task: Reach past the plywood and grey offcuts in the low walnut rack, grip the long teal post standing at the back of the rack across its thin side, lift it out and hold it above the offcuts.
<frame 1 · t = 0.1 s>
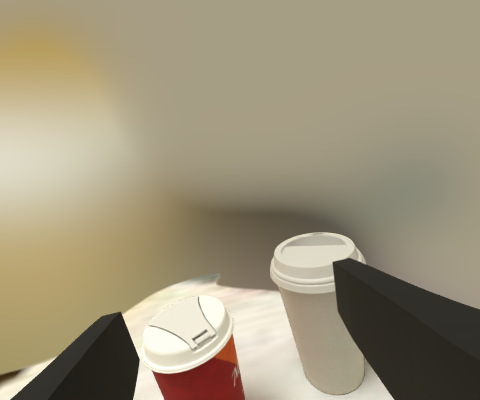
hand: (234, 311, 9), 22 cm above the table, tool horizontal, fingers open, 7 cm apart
coffee cup: (333, 369, 31), on the table
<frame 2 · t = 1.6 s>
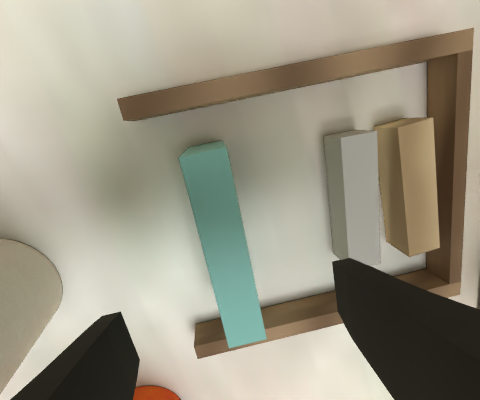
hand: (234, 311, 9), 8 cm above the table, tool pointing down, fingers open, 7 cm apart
long teal post: (223, 221, 17), resting in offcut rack
plywood offcut: (392, 183, 18), resting in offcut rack
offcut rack: (306, 203, 17), on the table
coffee cup: (9, 284, 17), on the table
grey board offcut: (341, 194, 18), resting in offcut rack
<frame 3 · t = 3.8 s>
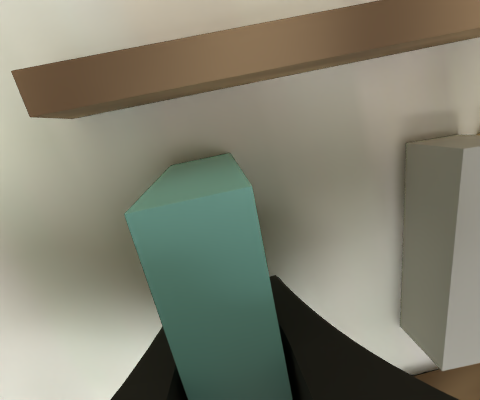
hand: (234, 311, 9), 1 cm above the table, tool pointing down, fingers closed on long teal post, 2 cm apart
long teal post: (231, 286, 10), resting in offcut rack, touching gripper
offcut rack: (367, 254, 11), on the table
grey board offcut: (421, 237, 11), resting in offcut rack
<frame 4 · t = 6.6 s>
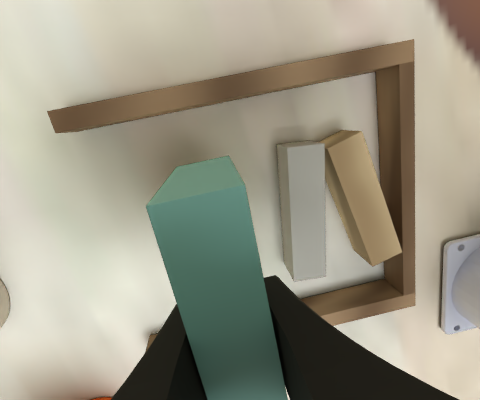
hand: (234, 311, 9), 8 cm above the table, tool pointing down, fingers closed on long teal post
long teal post: (230, 274, 12), point 6 cm above the table, touching gripper
plywood offcut: (346, 193, 18), resting in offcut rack
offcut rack: (258, 214, 17), on the table
grey board offcut: (294, 204, 17), resting in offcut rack
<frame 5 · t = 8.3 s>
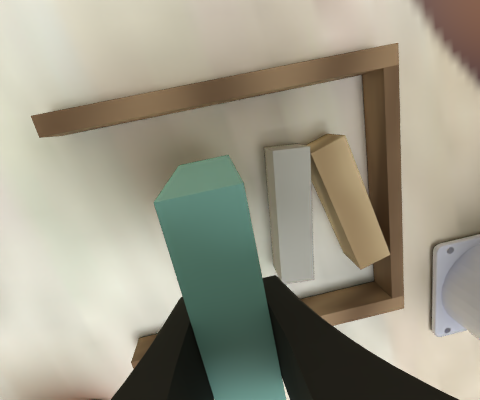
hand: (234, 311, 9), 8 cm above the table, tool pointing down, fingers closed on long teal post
long teal post: (229, 268, 12), point 5 cm above the table, touching gripper
plywood offcut: (334, 196, 18), resting in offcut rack
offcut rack: (246, 217, 17), on the table
grey board offcut: (283, 207, 17), resting in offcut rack
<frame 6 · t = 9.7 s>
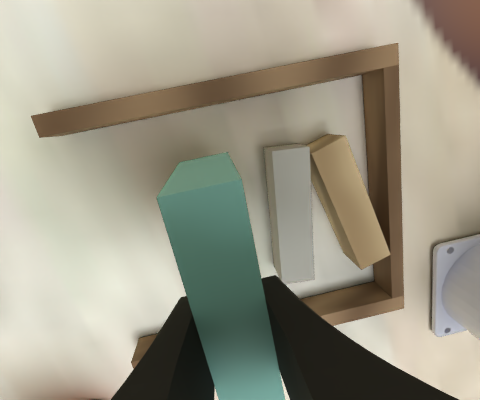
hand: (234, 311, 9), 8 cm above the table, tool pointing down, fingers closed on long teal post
long teal post: (228, 262, 12), point 5 cm above the table, touching gripper
plywood offcut: (334, 196, 18), resting in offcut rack
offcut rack: (246, 217, 17), on the table
grey board offcut: (283, 207, 17), resting in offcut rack
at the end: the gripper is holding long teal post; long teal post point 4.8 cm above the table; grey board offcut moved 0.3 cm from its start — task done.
